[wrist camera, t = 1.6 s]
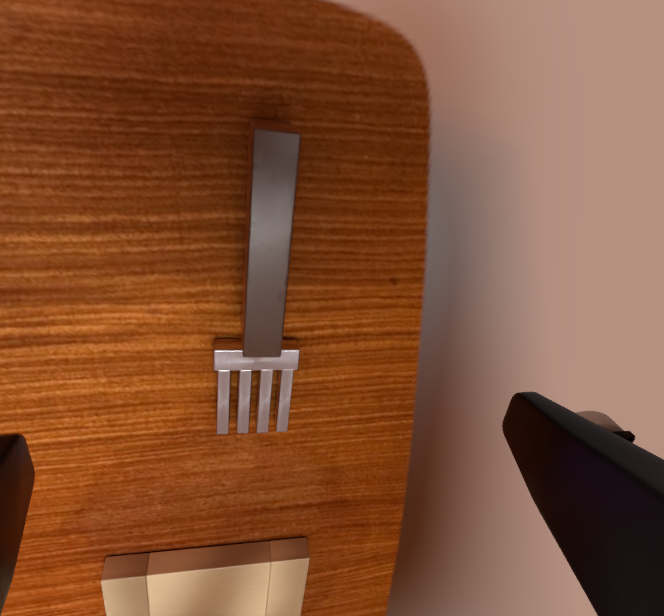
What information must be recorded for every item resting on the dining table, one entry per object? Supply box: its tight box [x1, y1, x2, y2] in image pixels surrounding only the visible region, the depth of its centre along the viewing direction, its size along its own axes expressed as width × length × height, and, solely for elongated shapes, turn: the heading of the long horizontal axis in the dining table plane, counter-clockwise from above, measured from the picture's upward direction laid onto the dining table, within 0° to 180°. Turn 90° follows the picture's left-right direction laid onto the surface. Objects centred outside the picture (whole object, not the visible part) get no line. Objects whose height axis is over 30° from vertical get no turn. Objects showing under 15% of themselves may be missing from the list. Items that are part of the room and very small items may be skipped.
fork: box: [213, 118, 301, 434], centre depth 20 cm, size 4×15×3 cm, turn 172°
